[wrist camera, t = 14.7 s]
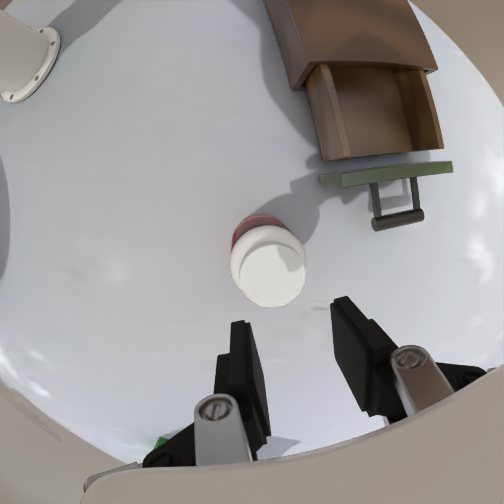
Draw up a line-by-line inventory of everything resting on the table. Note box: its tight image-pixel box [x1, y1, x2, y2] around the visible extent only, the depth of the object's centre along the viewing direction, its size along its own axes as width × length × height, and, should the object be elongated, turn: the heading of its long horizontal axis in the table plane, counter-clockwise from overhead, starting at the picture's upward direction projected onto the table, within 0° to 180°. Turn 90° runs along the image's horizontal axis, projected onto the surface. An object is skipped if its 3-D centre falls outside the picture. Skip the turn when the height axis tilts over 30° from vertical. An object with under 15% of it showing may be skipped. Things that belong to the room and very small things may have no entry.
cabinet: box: [263, 0, 438, 91], centre depth 20 cm, size 15×15×8 cm
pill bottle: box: [230, 214, 306, 307], centre depth 24 cm, size 6×6×11 cm
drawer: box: [304, 64, 453, 232], centre depth 23 cm, size 18×13×6 cm
